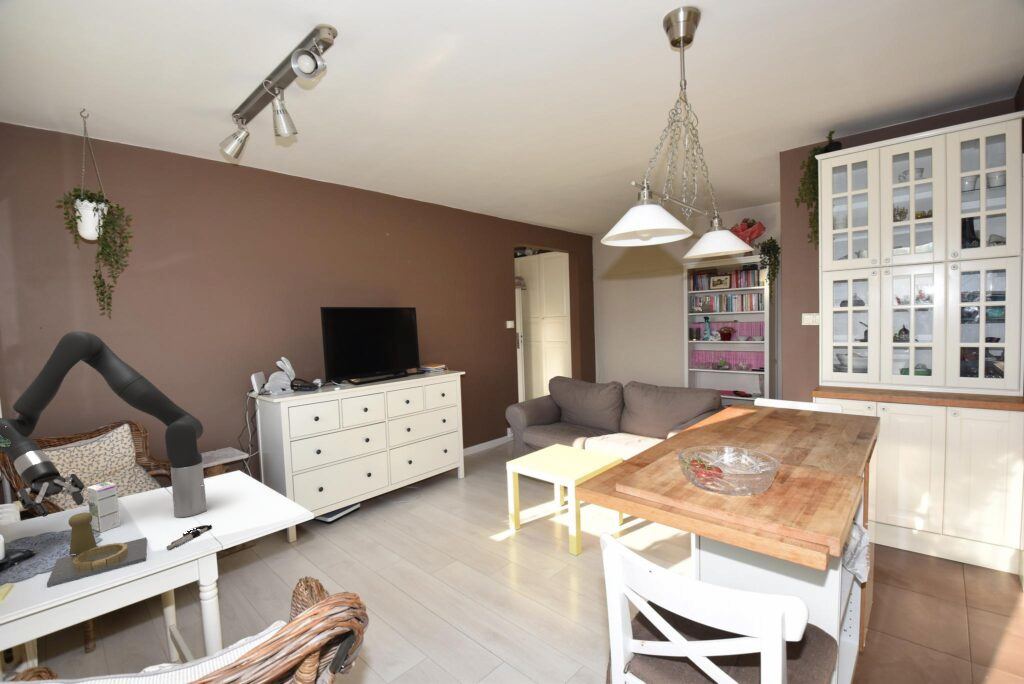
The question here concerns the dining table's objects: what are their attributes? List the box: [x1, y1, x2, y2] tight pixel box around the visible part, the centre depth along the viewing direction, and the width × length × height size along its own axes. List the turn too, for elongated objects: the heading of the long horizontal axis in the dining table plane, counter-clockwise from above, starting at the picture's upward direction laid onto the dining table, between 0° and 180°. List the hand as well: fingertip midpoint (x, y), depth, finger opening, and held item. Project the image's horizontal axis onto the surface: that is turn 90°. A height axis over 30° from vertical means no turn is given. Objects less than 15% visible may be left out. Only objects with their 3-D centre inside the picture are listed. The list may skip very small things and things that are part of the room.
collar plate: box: [46, 537, 148, 588], centre depth 133 cm, size 20×16×2 cm
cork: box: [68, 511, 98, 555], centre depth 141 cm, size 6×6×11 cm
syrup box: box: [86, 481, 121, 533], centre depth 156 cm, size 6×6×14 cm
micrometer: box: [166, 524, 213, 551], centre depth 147 cm, size 15×7×2 cm, turn 165°
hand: (64, 508), depth 142 cm, fingers open, 8 cm apart
